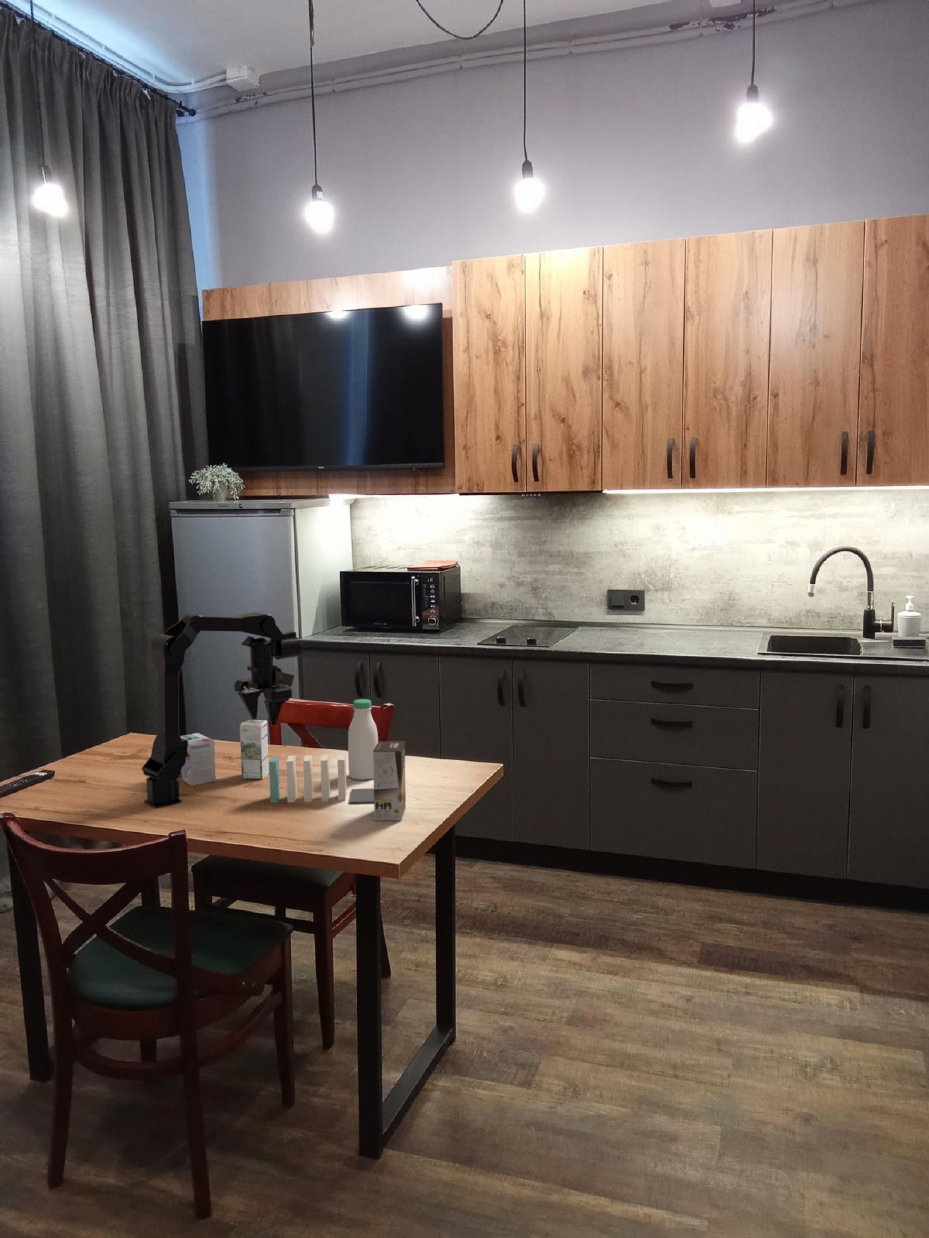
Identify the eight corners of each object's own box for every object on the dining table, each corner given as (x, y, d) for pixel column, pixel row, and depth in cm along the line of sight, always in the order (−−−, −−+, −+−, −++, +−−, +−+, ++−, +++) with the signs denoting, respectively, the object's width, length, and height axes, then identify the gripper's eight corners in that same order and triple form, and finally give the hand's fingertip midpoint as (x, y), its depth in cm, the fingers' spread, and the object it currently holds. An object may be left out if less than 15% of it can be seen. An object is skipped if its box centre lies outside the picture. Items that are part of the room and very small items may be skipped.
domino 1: (270, 802, 225) (268, 761, 224) (273, 796, 230) (271, 756, 229) (277, 802, 225) (275, 761, 224) (279, 795, 230) (278, 755, 229)
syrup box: (269, 773, 249) (267, 719, 247) (262, 780, 243) (260, 724, 241) (248, 772, 250) (246, 718, 248) (240, 779, 244) (239, 724, 242)
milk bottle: (384, 777, 245) (382, 701, 242) (357, 782, 241) (355, 705, 238) (369, 770, 251) (368, 696, 249) (343, 775, 247) (341, 699, 244)
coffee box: (402, 821, 212) (401, 751, 210) (373, 821, 212) (372, 751, 210) (406, 807, 221) (405, 740, 219) (378, 807, 221) (377, 740, 219)
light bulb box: (175, 776, 247) (173, 736, 246) (200, 772, 251) (198, 732, 250) (191, 786, 239) (189, 744, 237) (217, 781, 243) (215, 740, 241)
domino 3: (304, 801, 226) (303, 760, 224) (306, 795, 231) (305, 755, 229) (311, 801, 226) (310, 760, 224) (313, 795, 231) (312, 755, 229)
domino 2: (287, 802, 225) (286, 761, 224) (290, 795, 230) (288, 755, 229) (294, 802, 225) (293, 761, 224) (296, 795, 230) (295, 755, 229)
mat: (349, 803, 224) (349, 801, 224) (351, 790, 234) (351, 788, 234) (392, 802, 224) (392, 800, 224) (392, 789, 234) (392, 787, 234)
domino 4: (321, 801, 226) (320, 760, 225) (323, 794, 231) (322, 754, 229) (328, 801, 226) (327, 760, 225) (330, 794, 231) (328, 754, 230)
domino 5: (338, 800, 226) (337, 760, 225) (339, 794, 231) (338, 754, 230) (345, 800, 226) (344, 759, 225) (346, 794, 231) (345, 754, 230)
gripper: (309, 662, 240) (311, 722, 242) (269, 654, 254) (271, 711, 256) (271, 668, 233) (273, 730, 235) (232, 659, 246) (234, 718, 248)
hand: (264, 722), depth 243 cm, fingers open, 9 cm apart
